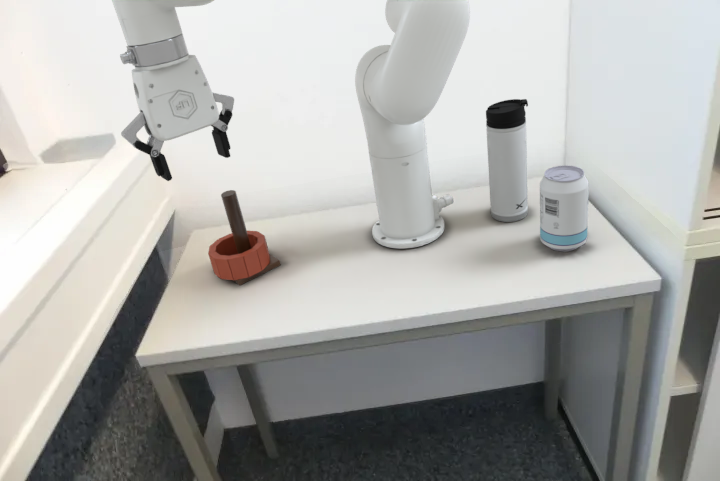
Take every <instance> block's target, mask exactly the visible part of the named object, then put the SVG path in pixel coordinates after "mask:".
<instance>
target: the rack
mask: <svg viewBox="0 0 720 481" xmlns="http://www.w3.org/2000/svg"><path fill="white" fill-rule="evenodd" d="M220 197H221V200H222V204H223V207H224V210H225V214H226V218H227V220H228V225H229V228H230V231H231V233H232V235H233V238H234V241H235V245H236V248H237V252H238V254H241V253H243V252H245V251H248V250H250V249H252V248H251V244H250V241H249V237H248V234H247V231H248V230H247V227H246V223H245V220H244V216H243V212H242V209H241V205H240V201H239V198H238V194H237V191H236V190H234V189H233V190H232V189H230V190H226V191H223V192H222V193H221V194H220ZM269 254H270V262H269V264H268V265H267V266H266V267H265V268H264V269H263V270H262V271H261V272H259V273H257V274H255V275H253V276H251V277H248V278H243V279H238V280H232V281H233V282H234V283H236V285H238V286H242V285H243V284H246V283H248V282H250V281H251V280H253V279H256V278H258V277H260V276H261V275H264V274H266V273H267V272H270V271H271V270H274V269H275V268H278V267H280V266H281V265H282V264H281V260H280V259H279V258H278V257H276V256H275V255H273V254H271V253H269Z"/></svg>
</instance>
